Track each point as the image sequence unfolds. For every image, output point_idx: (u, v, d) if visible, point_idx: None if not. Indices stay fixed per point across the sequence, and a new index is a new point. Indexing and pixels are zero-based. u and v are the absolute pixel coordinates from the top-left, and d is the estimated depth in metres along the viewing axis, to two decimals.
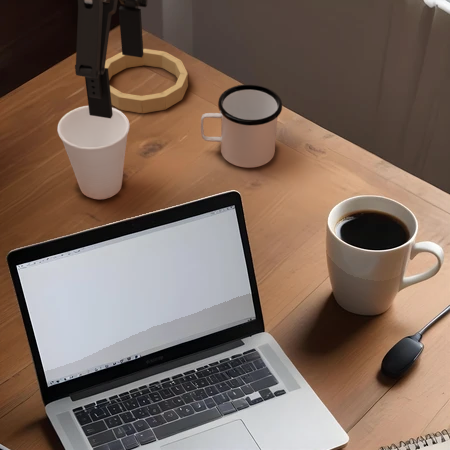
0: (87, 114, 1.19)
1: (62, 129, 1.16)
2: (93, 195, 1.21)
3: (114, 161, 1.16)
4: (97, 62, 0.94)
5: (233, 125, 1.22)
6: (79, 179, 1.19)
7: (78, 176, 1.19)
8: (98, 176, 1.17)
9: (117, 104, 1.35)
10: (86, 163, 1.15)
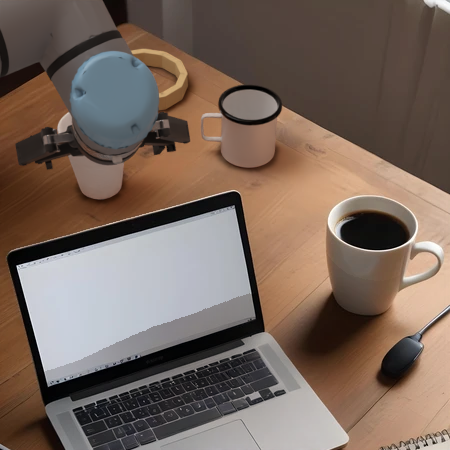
0: None
1: (62, 129, 1.16)
2: (93, 195, 1.21)
3: None
4: (26, 162, 0.95)
5: (233, 125, 1.22)
6: (79, 179, 1.19)
7: (78, 176, 1.19)
8: (98, 176, 1.17)
9: None
10: (86, 163, 1.15)
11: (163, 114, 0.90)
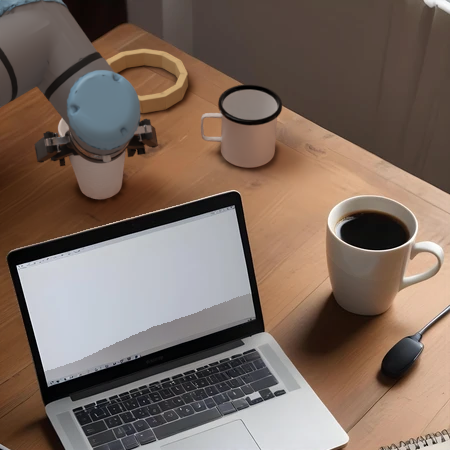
0: None
1: (62, 129, 1.16)
2: (93, 195, 1.21)
3: (114, 161, 1.16)
4: (42, 160, 1.12)
5: (233, 125, 1.22)
6: (79, 178, 1.19)
7: (78, 176, 1.19)
8: (98, 176, 1.17)
9: None
10: (86, 163, 1.15)
11: (147, 120, 1.07)
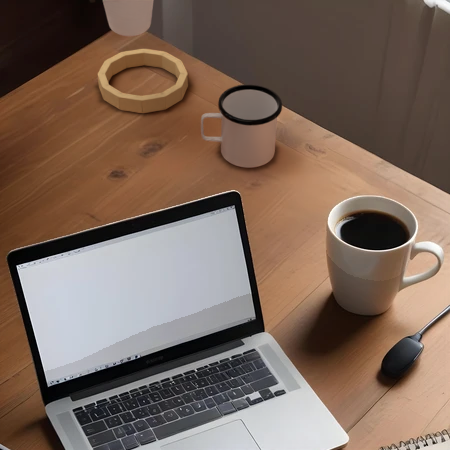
0: None
1: None
2: (122, 30, 1.21)
3: None
4: None
5: (233, 125, 1.22)
6: (109, 12, 1.20)
7: (108, 8, 1.19)
8: (128, 7, 1.18)
9: (117, 104, 1.35)
10: None
11: None
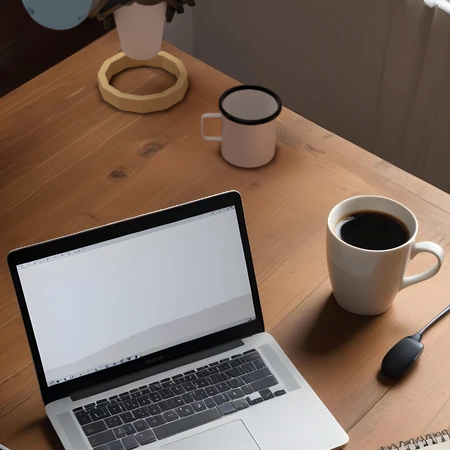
0: None
1: None
2: (135, 55, 1.32)
3: (156, 19, 1.27)
4: (91, 14, 1.24)
5: (233, 125, 1.22)
6: (123, 38, 1.30)
7: (122, 35, 1.30)
8: (141, 34, 1.28)
9: (117, 104, 1.35)
10: (131, 20, 1.26)
11: None
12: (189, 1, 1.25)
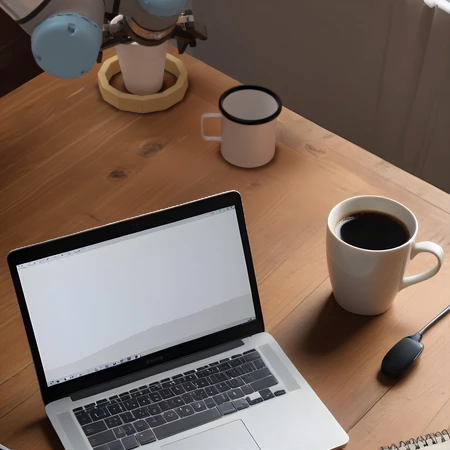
0: None
1: None
2: (137, 91, 1.37)
3: (158, 58, 1.33)
4: None
5: (233, 125, 1.22)
6: (126, 76, 1.35)
7: (125, 73, 1.35)
8: (143, 72, 1.34)
9: (117, 104, 1.35)
10: (133, 59, 1.31)
11: (189, 11, 1.22)
12: (199, 36, 1.29)
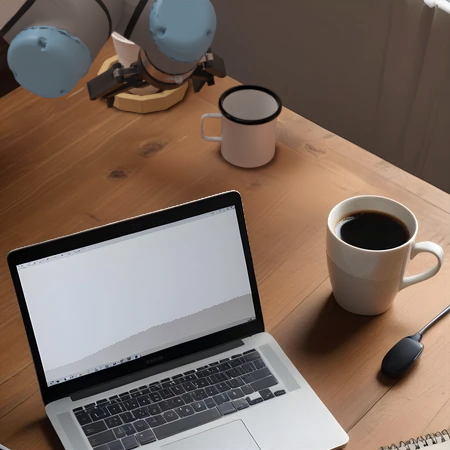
0: None
1: None
2: (137, 91, 1.37)
3: None
4: (96, 97, 1.18)
5: (233, 125, 1.22)
6: None
7: None
8: None
9: (117, 104, 1.35)
10: (133, 59, 1.31)
11: (208, 49, 1.13)
12: (217, 74, 1.20)
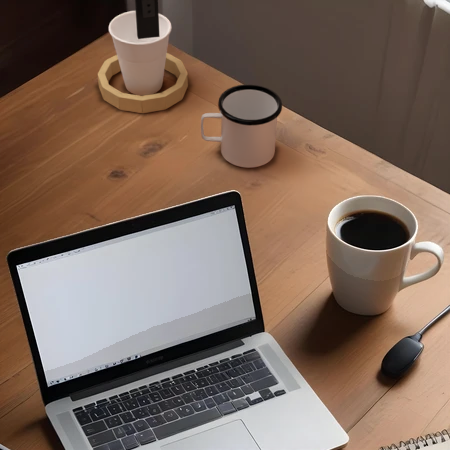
0: (133, 19, 1.35)
1: (112, 30, 1.33)
2: (137, 91, 1.37)
3: (157, 58, 1.33)
4: None
5: (233, 125, 1.22)
6: (126, 76, 1.35)
7: (125, 73, 1.35)
8: (143, 72, 1.34)
9: (117, 104, 1.35)
10: (133, 59, 1.31)
11: None
12: None
